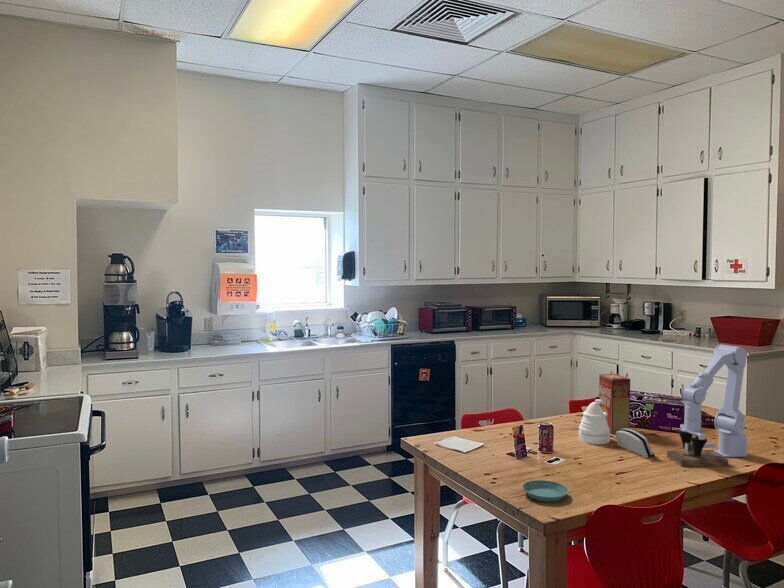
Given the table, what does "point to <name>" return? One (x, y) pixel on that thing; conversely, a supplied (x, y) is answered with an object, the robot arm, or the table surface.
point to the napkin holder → (633, 442)
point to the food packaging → (615, 400)
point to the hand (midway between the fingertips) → (691, 452)
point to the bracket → (690, 448)
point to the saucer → (545, 490)
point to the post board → (698, 458)
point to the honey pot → (594, 425)
